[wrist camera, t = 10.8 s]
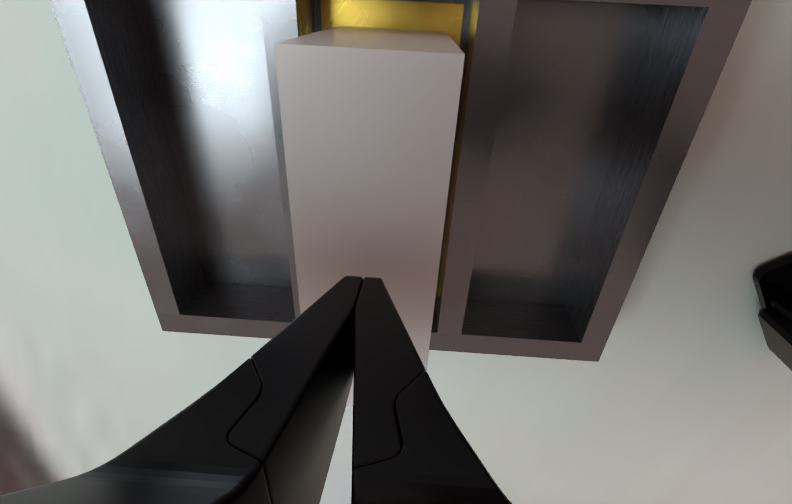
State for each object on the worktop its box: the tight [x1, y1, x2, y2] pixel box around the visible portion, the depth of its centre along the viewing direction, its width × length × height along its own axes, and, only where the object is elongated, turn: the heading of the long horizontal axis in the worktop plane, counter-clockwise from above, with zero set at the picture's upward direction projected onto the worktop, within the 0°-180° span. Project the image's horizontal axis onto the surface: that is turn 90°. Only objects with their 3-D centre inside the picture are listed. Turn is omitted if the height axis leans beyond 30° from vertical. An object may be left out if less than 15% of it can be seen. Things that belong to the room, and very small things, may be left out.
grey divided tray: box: [50, 0, 752, 362], centre depth 15 cm, size 19×14×3 cm
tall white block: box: [274, 26, 465, 406], centre depth 13 cm, size 10×4×7 cm, turn 177°
